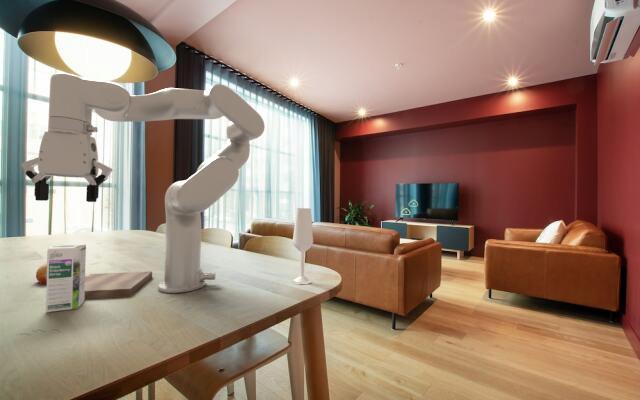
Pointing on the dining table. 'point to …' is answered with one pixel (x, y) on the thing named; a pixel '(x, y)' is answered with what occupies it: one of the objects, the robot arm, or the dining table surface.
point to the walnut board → (114, 284)
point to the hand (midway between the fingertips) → (67, 201)
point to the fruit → (42, 274)
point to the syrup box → (65, 277)
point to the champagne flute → (303, 236)
